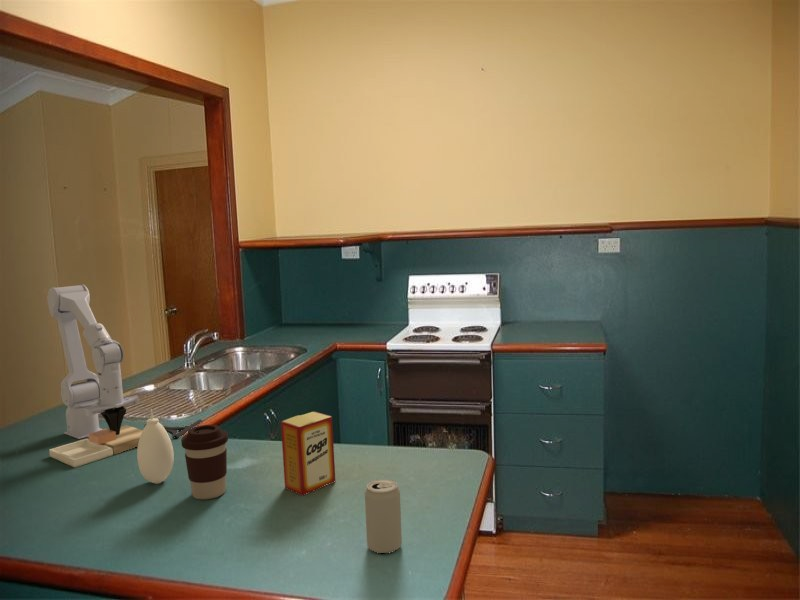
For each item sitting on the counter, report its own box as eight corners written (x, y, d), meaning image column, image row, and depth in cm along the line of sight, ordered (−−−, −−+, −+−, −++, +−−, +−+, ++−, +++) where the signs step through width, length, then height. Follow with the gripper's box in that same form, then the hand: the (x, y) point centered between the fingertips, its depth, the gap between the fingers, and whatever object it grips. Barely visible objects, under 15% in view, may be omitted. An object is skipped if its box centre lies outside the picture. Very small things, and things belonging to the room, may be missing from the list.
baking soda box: (317, 474, 151) (313, 409, 149) (335, 481, 147) (331, 414, 145) (285, 488, 145) (280, 420, 143) (302, 495, 140) (298, 425, 138)
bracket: (158, 423, 198) (158, 415, 198) (202, 424, 195) (202, 415, 195) (131, 440, 184) (130, 430, 184) (178, 441, 181) (177, 431, 181)
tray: (50, 456, 170) (49, 449, 170) (88, 445, 178) (87, 438, 178) (74, 467, 162) (73, 460, 162) (113, 455, 170) (112, 448, 170)
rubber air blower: (163, 489, 146) (156, 413, 144) (133, 488, 148) (126, 413, 145) (181, 476, 154) (175, 403, 151) (152, 474, 155) (146, 403, 153)
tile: (89, 441, 174) (88, 433, 174) (107, 436, 178) (106, 428, 178) (98, 444, 171) (97, 436, 171) (116, 439, 175) (115, 431, 175)
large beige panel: (89, 445, 179) (88, 436, 178) (127, 433, 188) (127, 425, 187) (114, 454, 170) (113, 445, 170) (153, 442, 179) (153, 433, 179)
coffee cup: (240, 486, 146) (235, 423, 144) (214, 505, 137) (209, 438, 135) (204, 482, 149) (199, 420, 148) (176, 500, 140) (170, 434, 138)
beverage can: (366, 540, 120) (363, 479, 118) (400, 537, 120) (398, 476, 119) (367, 557, 113) (364, 493, 112) (403, 554, 114) (401, 490, 112)
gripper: (92, 395, 167) (97, 444, 169) (143, 382, 179) (147, 429, 181) (79, 391, 172) (84, 439, 174) (129, 379, 183) (134, 425, 185)
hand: (115, 434), depth 177 cm, fingers closed
